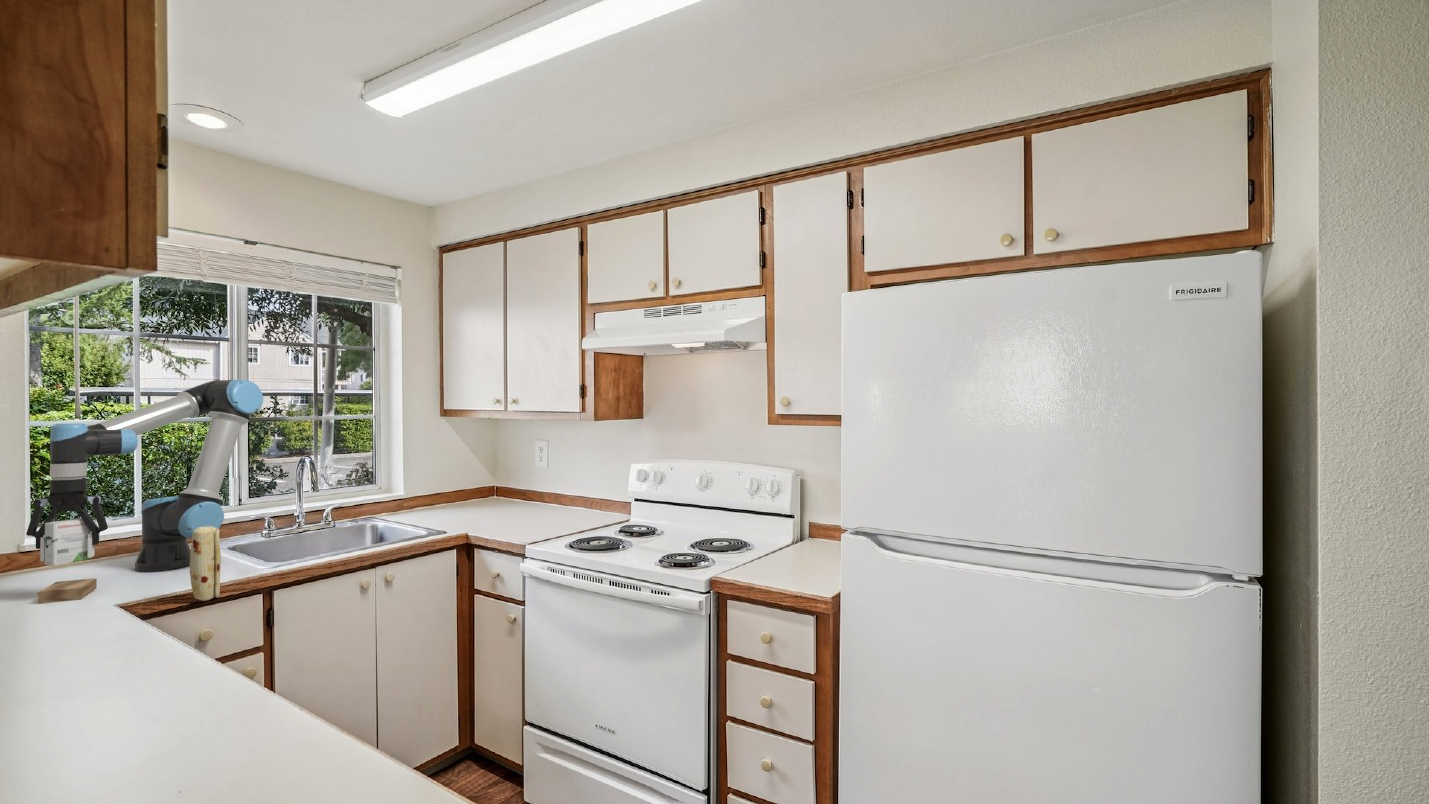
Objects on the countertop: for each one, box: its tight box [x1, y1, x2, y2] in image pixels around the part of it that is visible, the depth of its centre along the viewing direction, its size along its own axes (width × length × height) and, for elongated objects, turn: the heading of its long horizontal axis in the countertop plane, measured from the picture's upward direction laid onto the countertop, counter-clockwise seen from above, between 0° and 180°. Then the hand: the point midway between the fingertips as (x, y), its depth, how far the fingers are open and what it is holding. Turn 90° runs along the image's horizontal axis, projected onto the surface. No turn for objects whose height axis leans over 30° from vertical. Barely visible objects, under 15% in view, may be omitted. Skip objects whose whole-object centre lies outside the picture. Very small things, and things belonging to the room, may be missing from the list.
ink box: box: [44, 517, 92, 567], centre depth 190 cm, size 9×5×12 cm, turn 158°
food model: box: [189, 526, 222, 603], centre depth 186 cm, size 10×7×20 cm
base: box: [37, 577, 98, 605], centre depth 190 cm, size 9×12×3 cm
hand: (67, 558), depth 190 cm, fingers closed on ink box, 9 cm apart
